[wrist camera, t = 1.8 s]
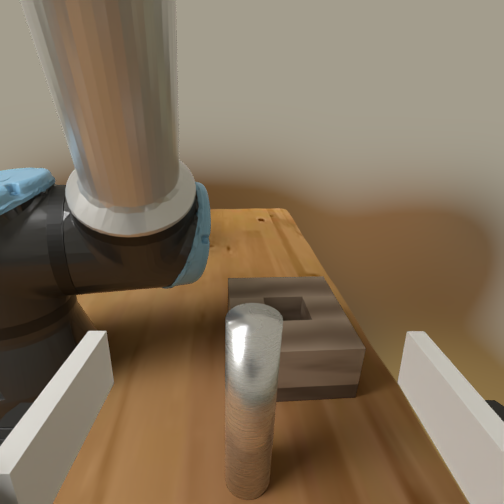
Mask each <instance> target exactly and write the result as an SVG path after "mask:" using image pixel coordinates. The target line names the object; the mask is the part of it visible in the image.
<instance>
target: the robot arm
mask: <svg viewBox="0 0 504 504" xmlns="http://www.w3.org/2000/svg"><path fill="white" fill-rule="evenodd" d="M20 4H21V7H22V10H23V12H24V16H25V19H26V22H27V25H28V28H29V31H30V33H31V36H32V40H33V43H34V46H35V49H36V51H37V54H38V58H39V61H40V64H41V67H42V70H43V73H44V75H45V79H46V82H47V85H48V88H49V90H50V94H51V97H52V100H53V102H54V106H55V108H56V112H57V115H58V118H59V121H60V124H61V127H62V130H63V132H64V135H65V139H66V142H67V145H68V147H69V151H70V154H71V157H72V160H73V163H74V166H75V169H74V170H73V172H72V173H71V175H70V176H69V179H68V181H67V184H66V185H56V184H55V178H54V177H53V176H52V175H51V172H50V171H49V170H47V169H44V168H38V169H37V168H19V169H11V170H3V171H0V504H52V503H53V501H54V499H55V497H56V496H57V494H58V492H59V490H60V488H61V486H62V484H63V482H64V480H65V478H66V476H67V474H68V472H69V470H70V468H71V466H72V464H73V462H74V460H75V458H76V456H77V454H78V452H79V451H80V449H81V447H82V445H83V443H84V441H85V439H86V437H87V435H88V433H89V431H90V429H91V427H92V425H93V423H94V421H95V419H96V417H97V415H98V413H99V411H100V409H101V407H102V406H103V404H104V402H105V400H106V398H107V396H108V394H109V392H110V390H111V388H112V386H113V384H114V379H113V372H112V365H111V358H110V351H109V344H108V338H107V331H97V329H96V328H95V326H94V325H93V323H92V322H91V320H90V319H89V317H88V316H87V314H86V313H85V311H84V310H83V308H82V307H81V306H80V304H79V303H78V301H77V297H76V295H79V294H90V293H102V292H113V291H125V290H136V289H149V288H172V287H174V286H178V285H185V284H191V283H193V282H195V281H197V280H198V279H199V278H200V277H201V276H202V274H203V272H204V270H205V267H206V264H207V259H208V254H209V245H210V243H209V235H210V229H211V216H210V204H209V199H208V194H207V191H206V188H205V187H204V185H203V184H201V183H199V182H195V180H194V178H193V175H192V173H191V171H190V170H189V169H188V167H187V166H186V165H185V164H184V163H183V162H182V161H181V160H179V123H178V80H177V79H178V78H177V77H178V76H177V31H176V0H20ZM398 384H399V386H400V387H401V389H402V391H403V392H404V394H405V396H406V398H407V399H408V401H409V403H410V404H411V406H412V408H413V409H414V411H415V413H416V414H417V416H418V418H419V419H420V421H421V423H422V424H423V426H424V428H425V429H426V431H427V433H428V434H429V436H430V438H431V439H432V441H433V443H434V444H435V446H436V448H437V450H438V451H439V453H440V455H441V456H442V458H443V460H444V461H445V463H446V465H447V466H448V468H449V470H450V471H451V473H452V475H453V476H454V478H455V480H456V481H457V483H458V485H459V486H460V488H461V490H462V491H463V493H464V495H465V497H466V498H467V500H468V502H469V503H470V504H504V406H502V405H501V404H499V403H498V402H496V401H495V400H484V399H483V398H482V397H481V396H480V394H479V393H478V392H477V391H476V390H475V389H474V388H473V386H471V384H470V383H469V382H468V381H467V380H466V378H465V377H464V376H463V375H462V374H461V373H460V372H459V371H458V369H457V368H456V367H455V366H454V365H453V364H452V363H451V361H450V360H449V359H448V358H447V357H446V356H445V354H444V353H443V352H442V351H441V350H440V349H439V348H438V346H437V345H436V344H435V343H434V342H433V341H432V340H431V338H430V337H429V336H428V335H427V334H426V333H425V332H424V331H408V332H407V335H406V340H405V345H404V350H403V356H402V361H401V367H400V372H399V377H398Z"/></svg>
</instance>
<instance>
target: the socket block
mask: <svg viewBox="0 0 504 504" xmlns="http://www.w3.org/2000/svg"><path fill="white" fill-rule="evenodd" d="M245 303H260V304H265V305H268V306H271V307H273V308H275V309H276V310H277V311H278V312H280V314H281V315H282V318H283V328H282V340H281V351H280V363H279V375H278V387H277V398H276V402H279V401H298V400H316V399H335V398H353V397H356V392H357V388H358V383H359V378H360V373H361V369H362V364H363V359H364V354H365V350H366V348H365V347H364V345H363V343H362V341H361V340H360V338H359V336H358V335H357V333H356V331H355V330H354V328H353V326H352V325H351V323H350V321H349V319H348V318H347V316H346V314H345V313H344V311H343V309H342V308H341V306H340V304H339V302H338V301H337V299H336V297H335V296H334V294H333V292H332V291H331V289H330V287H329V285H328V284H327V282H326V280H325V279H324V277H270V278H228V312H229V310H231V309H232V308H234V307H235V306H238V305H241V304H245Z"/></svg>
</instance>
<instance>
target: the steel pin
mask: <svg viewBox="0 0 504 504" xmlns="http://www.w3.org/2000/svg"><path fill="white" fill-rule="evenodd" d="M282 328H283V318H282V315H281V314H280V312H278V311H277V310H276V309H275V308H273V307H271V306H268V305H265V304H260V303H245V304H241V305H238V306H235V307H234V308H232V309H231V310H229V312H228V313H227V315H226V327H225V482H226V485H227V488H228V489H229V491H230V492H231V493H232V494H233V495H234V496H236V497H238V498H240V499H244V500H252V499H255V498H258V497H259V496H261V495H262V494H263V493H264V492H265V491H266V489H267V487H268V485H269V480H270V469H271V457H272V445H273V434H274V422H275V410H276V398H277V387H278V375H279V363H280V351H281V340H282Z"/></svg>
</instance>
